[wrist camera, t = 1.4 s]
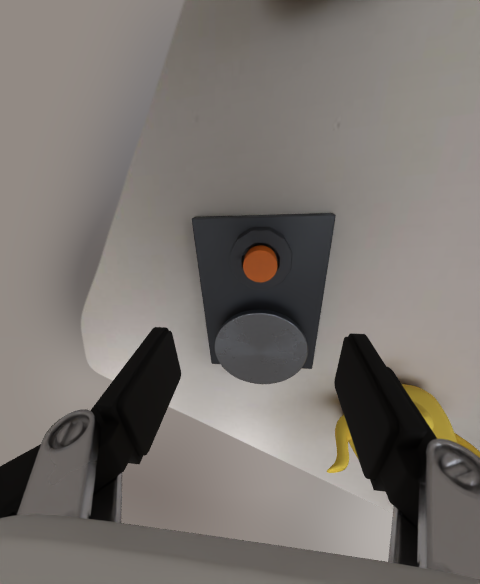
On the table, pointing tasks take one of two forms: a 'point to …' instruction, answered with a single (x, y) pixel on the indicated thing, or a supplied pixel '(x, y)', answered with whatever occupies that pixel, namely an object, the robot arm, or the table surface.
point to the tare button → (260, 263)
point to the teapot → (428, 410)
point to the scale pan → (261, 347)
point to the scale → (282, 286)
